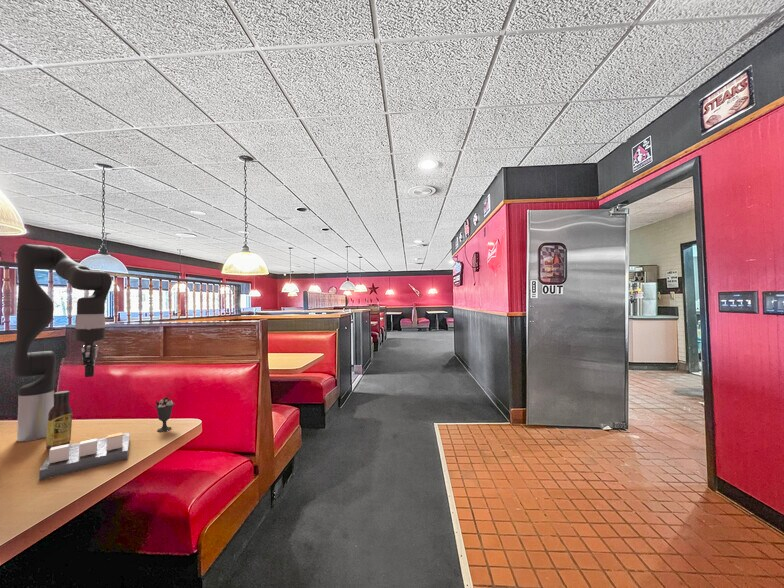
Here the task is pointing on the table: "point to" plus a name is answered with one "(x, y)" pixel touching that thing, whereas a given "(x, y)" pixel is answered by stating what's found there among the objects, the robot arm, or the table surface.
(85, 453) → the handle
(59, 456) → the right breaker handle
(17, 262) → the robot arm
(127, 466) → the table surface
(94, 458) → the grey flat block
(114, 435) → the block
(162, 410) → the sundae
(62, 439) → the sauce bottle
